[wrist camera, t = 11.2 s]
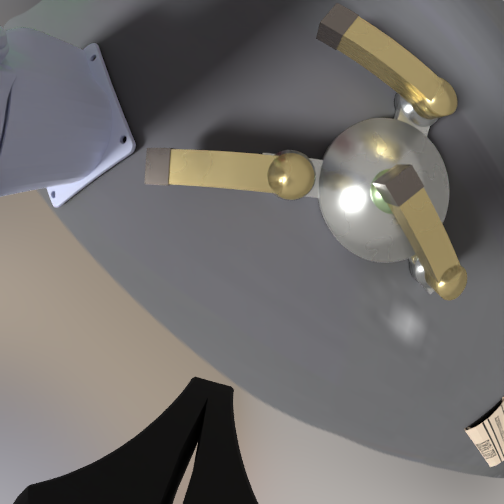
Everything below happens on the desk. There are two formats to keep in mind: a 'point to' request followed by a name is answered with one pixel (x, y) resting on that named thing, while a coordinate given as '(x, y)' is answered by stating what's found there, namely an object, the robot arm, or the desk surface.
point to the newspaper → (490, 436)
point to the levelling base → (364, 192)
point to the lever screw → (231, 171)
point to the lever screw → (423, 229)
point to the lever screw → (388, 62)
